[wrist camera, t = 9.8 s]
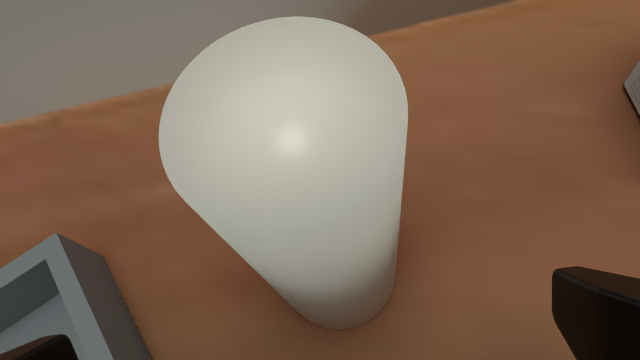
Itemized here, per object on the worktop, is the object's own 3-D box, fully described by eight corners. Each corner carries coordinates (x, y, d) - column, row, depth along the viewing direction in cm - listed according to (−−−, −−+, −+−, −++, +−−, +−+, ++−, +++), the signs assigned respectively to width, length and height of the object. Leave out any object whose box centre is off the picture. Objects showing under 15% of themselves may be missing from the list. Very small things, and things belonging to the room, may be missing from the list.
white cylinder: (406, 319, 20) (436, 206, 8) (290, 338, 20) (157, 256, 8) (383, 210, 22) (380, -3, 10) (278, 228, 22) (159, 41, 11)
